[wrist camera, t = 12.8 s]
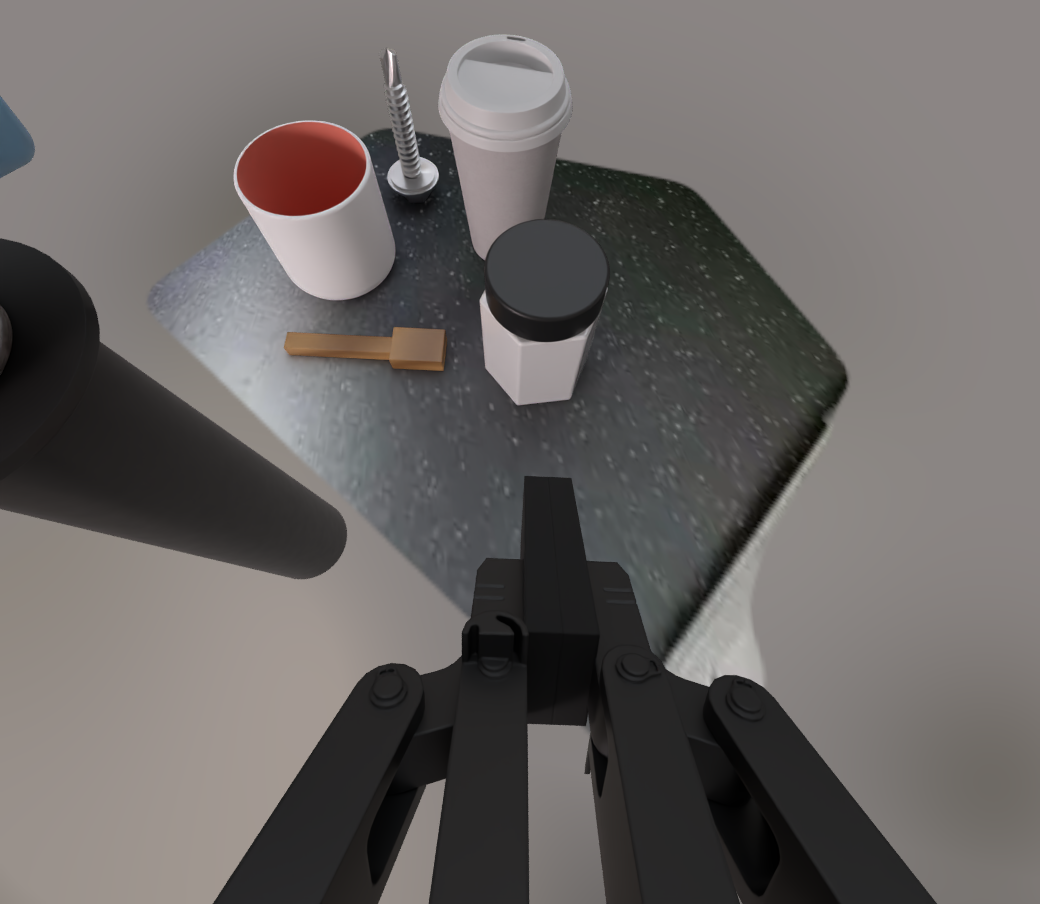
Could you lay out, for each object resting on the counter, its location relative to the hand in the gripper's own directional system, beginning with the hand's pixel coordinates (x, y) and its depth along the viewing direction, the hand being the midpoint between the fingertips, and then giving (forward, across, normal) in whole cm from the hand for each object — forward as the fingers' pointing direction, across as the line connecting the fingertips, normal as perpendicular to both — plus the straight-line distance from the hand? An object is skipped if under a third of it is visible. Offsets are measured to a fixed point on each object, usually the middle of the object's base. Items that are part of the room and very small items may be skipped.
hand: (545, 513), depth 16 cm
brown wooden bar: (+28, -14, -2) cm, 32 cm away
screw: (+41, -12, +11) cm, 44 cm away
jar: (+28, 0, -2) cm, 28 cm away
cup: (+35, -18, +4) cm, 40 cm away
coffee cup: (+38, -3, +7) cm, 38 cm away
